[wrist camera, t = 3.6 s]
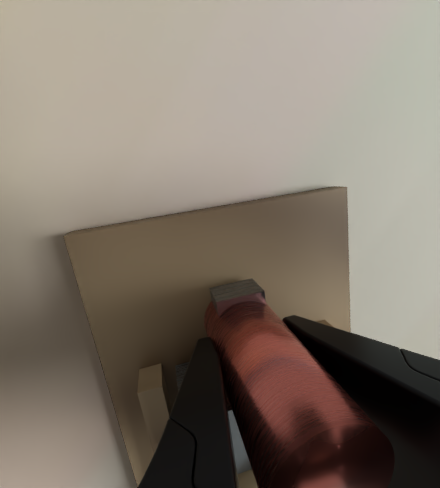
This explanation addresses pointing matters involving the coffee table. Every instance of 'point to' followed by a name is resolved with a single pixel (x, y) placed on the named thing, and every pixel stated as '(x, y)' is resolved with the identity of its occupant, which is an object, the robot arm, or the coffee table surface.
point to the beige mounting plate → (200, 290)
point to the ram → (288, 402)
